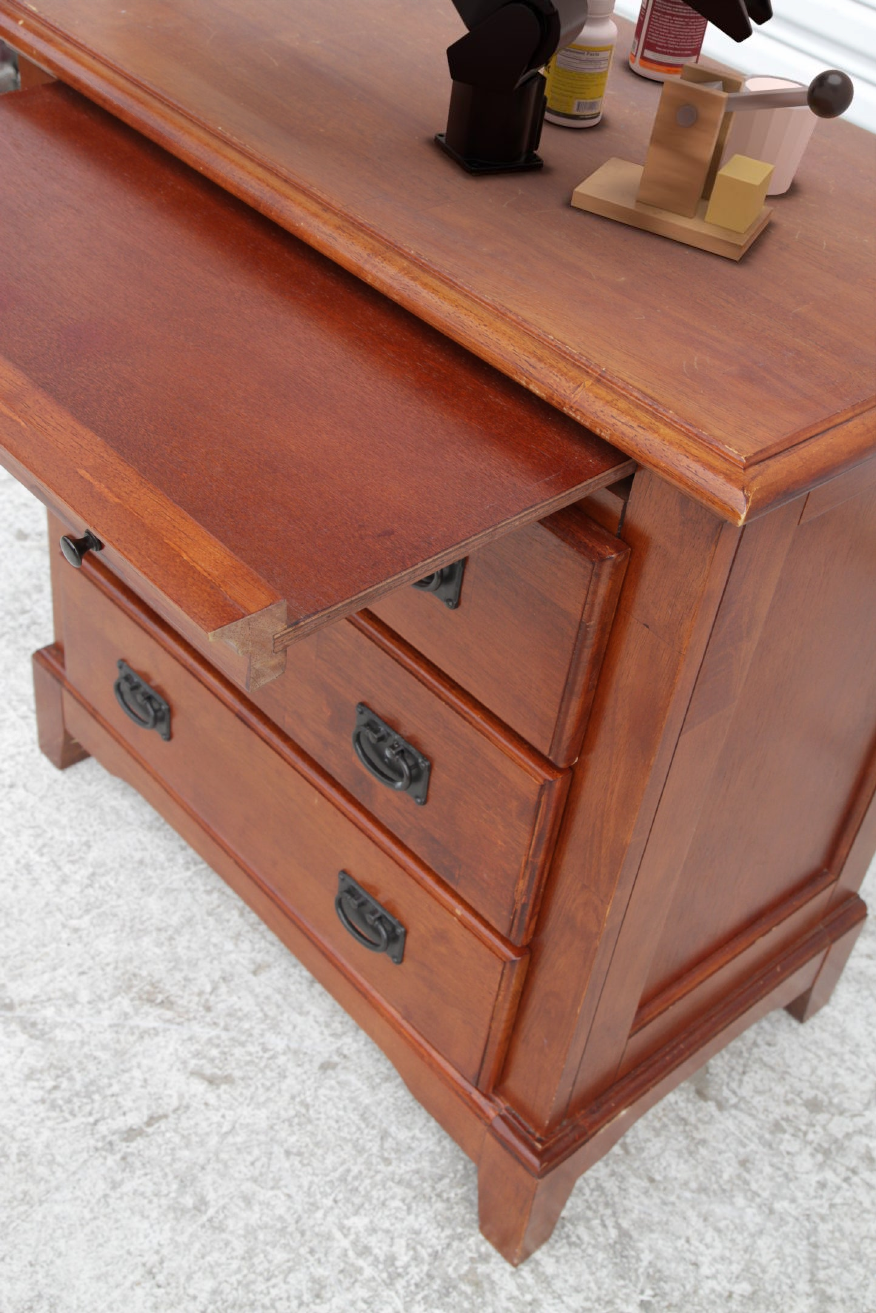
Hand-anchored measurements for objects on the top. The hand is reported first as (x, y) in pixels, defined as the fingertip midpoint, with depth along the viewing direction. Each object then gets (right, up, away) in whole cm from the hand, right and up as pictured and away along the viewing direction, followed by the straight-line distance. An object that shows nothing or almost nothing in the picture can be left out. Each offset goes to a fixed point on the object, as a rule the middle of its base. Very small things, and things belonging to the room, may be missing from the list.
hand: (756, 30), depth 86 cm
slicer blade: (+1, -5, +3) cm, 6 cm away
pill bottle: (-1, +12, +33) cm, 35 cm away
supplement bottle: (-10, +3, +22) cm, 24 cm away
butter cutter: (-4, -9, +10) cm, 14 cm away
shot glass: (+4, -4, +17) cm, 18 cm away
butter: (0, -10, +8) cm, 13 cm away
